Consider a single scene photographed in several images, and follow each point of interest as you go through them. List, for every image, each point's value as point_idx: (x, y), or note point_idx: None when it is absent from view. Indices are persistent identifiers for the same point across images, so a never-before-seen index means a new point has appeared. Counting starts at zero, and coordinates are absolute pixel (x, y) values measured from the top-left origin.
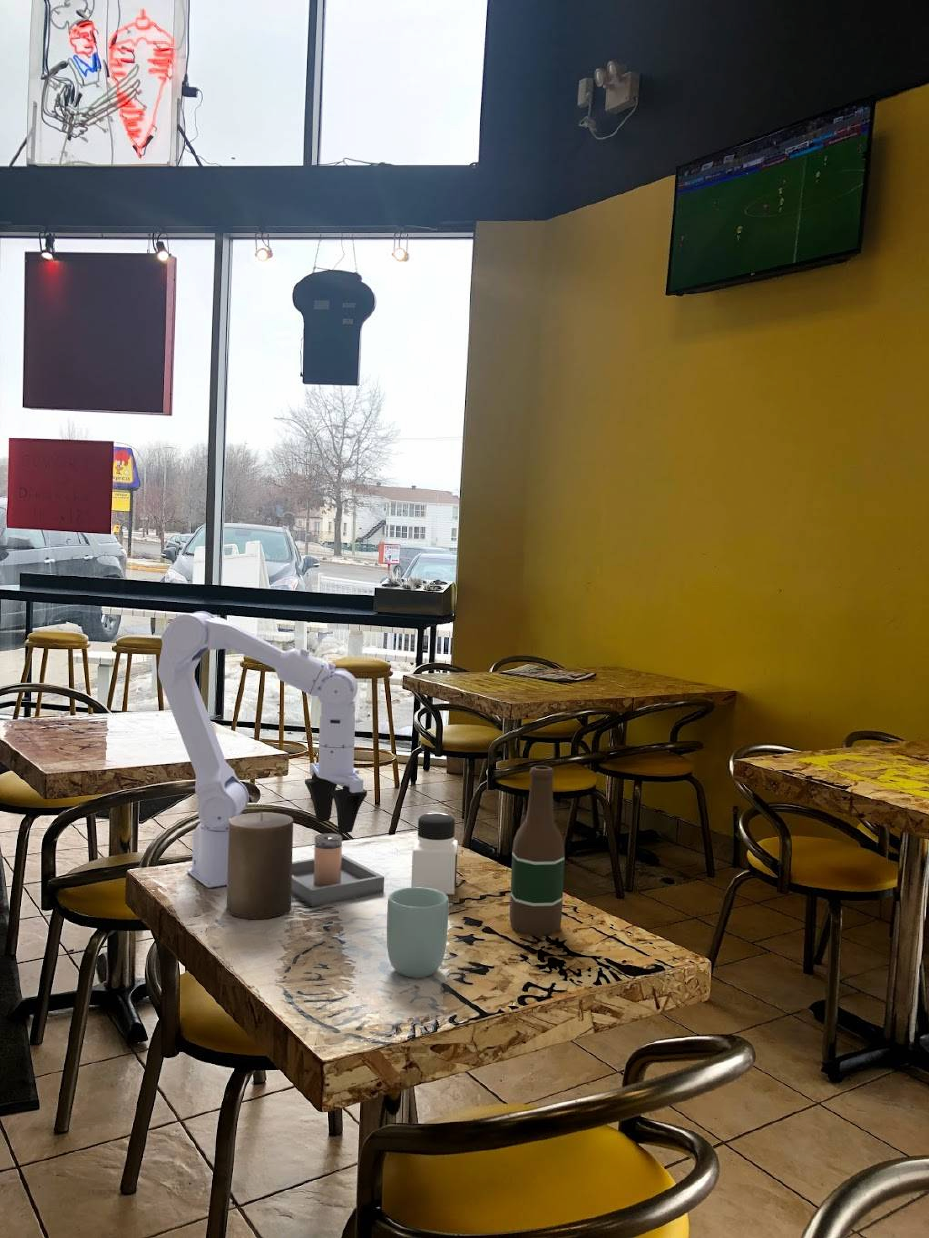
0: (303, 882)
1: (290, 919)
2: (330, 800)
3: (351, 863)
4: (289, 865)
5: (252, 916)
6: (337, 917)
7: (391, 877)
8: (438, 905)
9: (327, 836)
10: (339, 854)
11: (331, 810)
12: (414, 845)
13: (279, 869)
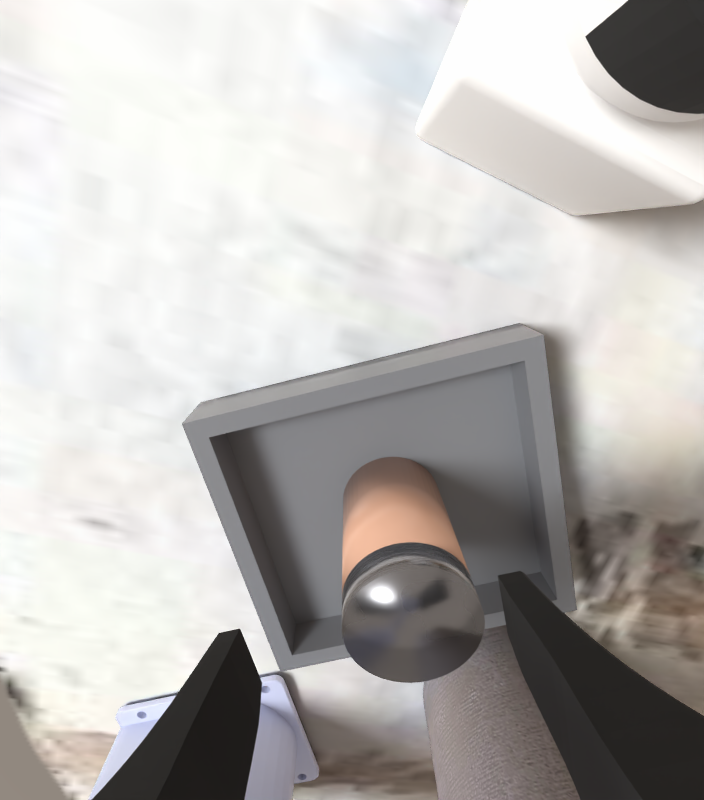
0: (489, 618)
1: (621, 636)
2: (193, 753)
3: (310, 410)
4: None
5: None
6: (671, 526)
7: (360, 233)
8: None
9: (397, 629)
10: (451, 538)
11: (218, 672)
12: (611, 152)
13: None
